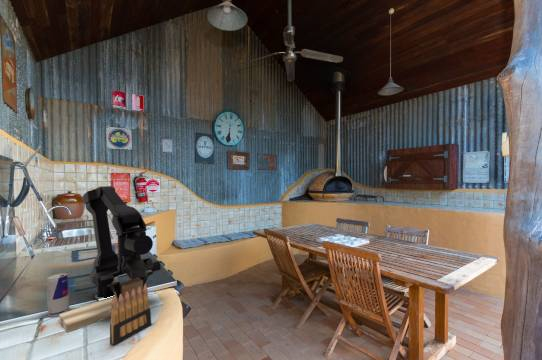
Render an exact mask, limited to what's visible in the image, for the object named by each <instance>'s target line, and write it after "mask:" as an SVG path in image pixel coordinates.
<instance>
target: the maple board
mask: <svg viewBox="0 0 542 360" xmlns="http://www.w3.org/2000/svg"><path fill="white" fill-rule="evenodd" d="M113 297H115V296H113ZM113 297H110V298H107V299H104V300H101V301H98V300H97V301H95V302H92V303H90V304H86V305H83V306H81V307H77V308H73V309H71V310H68V312H65V313H62V314H59V317H58V321H59V322H60V324H61V326H62V327H63V329H64V330H65V332H67V333H71V332H73V331H75V330H78V329H80V328H81V329H82V328H84V327H86V326H89V325H91V324H94V323H96V322H97V323H98V322H99V321H102V320H105V319H107V318H111V308H112V306H111V305H112V299H113ZM115 299H116V297H115ZM116 303H117V311H118V301H117V299H116Z"/></svg>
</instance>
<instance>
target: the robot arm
mask: <svg viewBox="0 0 542 360" xmlns="http://www.w3.org/2000/svg"><path fill="white" fill-rule="evenodd" d="M82 201H83V204H84V205H85V210H87V211H88V213H89V214H90V215H92V222H93V223H92V224H93V230H94V231H93V232H94V235H95V236H94V237H95V243H96V251H97V255H96V256H95V259H94V260H93V268H92V270H91V272H90V274H89V281H90V283H92V284H94V286H96V295H97V297H104V298H107V297H110V296H113V295H115V297H116V299H117V301H118V300H119V296H120V288H119V286H120V283H121V282H120V281H119V280H118V279H119V278H122V277H125V276H128V279H129V280H131V279H136V278H139V279H141V280H143V288H144V285H145V284H146V283H147V281H148V279H149V277H150V276H152V275H153V274H154V272H158V271H161V270H162V263H161V261H160V260H157V259H154V258H152V257H148V258H142V257H141V256H143V255H146V254H149V252H151V250H152V248H153V245H154V242H153V240H152V237H150V236H149V235H147V228H146V226H147V224H146V222H145V220H144V218H143V216H142V215H141V213H140V212H139V210H138V209H136V208H135V207H134V206H130V205H127V204H126V203H125V201H124V200H123V199H122V198H121V197H120V195H119V194H118V193H117V192H116V189H115V187H114V186H112V185H110V186H109V185H108V186H106V185H105V186H99V187H96V188H95V189H94V188H93V189H92V190H87V191H86V192H85V193H84V194H83V196H82ZM108 211H109V212H110V213H111V214H112V218H111V223H112V226H113V228H114V230H115V231H116V233H115V236H117V252H116V251H114V250H113V243H112V237H111V230H110V223H109V216H108Z"/></svg>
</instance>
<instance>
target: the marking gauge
mask: <svg viewBox="0 0 542 360" xmlns="http://www.w3.org/2000/svg"><path fill="white" fill-rule="evenodd" d="M139 287H140V288H141V291H142V299H143V280H141V279H139V278H136V279H128V280H125V281H122V282H120V286H119V288H120V294H121V295H122V297H123V304H124V307H125V295H126V292H128V293H129V297H130V305H131V293H132V290H133V289H134V290H135V294H136V302H137V291H138V288H139Z"/></svg>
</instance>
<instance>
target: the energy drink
mask: <svg viewBox="0 0 542 360" xmlns="http://www.w3.org/2000/svg"><path fill="white" fill-rule="evenodd" d="M69 295H70V294H69V276H68V274H67V273H65V272H61V273H60V272H59V273H56V274H53V275H52V274H51V275H49V276H47V277H46V299H47V300H46V302H47V304H46V305H47V316H48V317H50V318H51V317H52V318H55V317H58V316H59V314H62V313H65V312H68V311H70V298H69Z"/></svg>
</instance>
